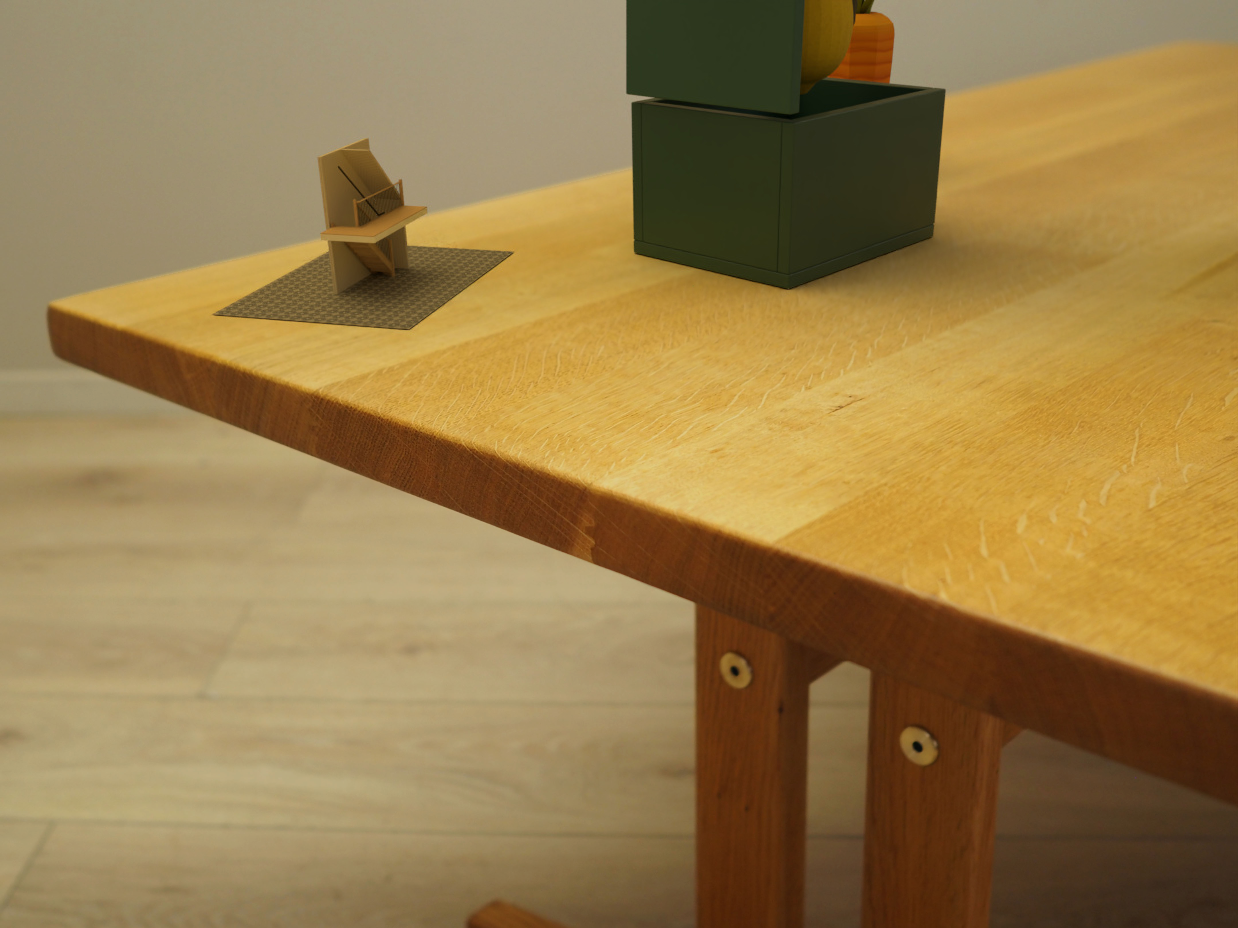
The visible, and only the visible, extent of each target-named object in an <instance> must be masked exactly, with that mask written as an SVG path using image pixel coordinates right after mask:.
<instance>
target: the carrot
mask: <svg viewBox="0 0 1238 928" xmlns="http://www.w3.org/2000/svg"><path fill="white" fill-rule="evenodd" d="M874 3H875V0H858V3H857V10H856V19H855V24H854V25H853V31H852V37H851V41H850V45H849V48H848V50H847V53H846V55H845V57H844V59H843V60H842V62H841V64H840V65H839V66H838V68H837V69H836V70H835V71H834V72H833V73H832V74H830V75H829V76H828V77H830V78H840V79H850V80H861V81H871V82H881V83H890V82H891V75H892V66H893V57H894V48H895V47H894V46H895V35H896V33H895V25H894V22H893V21H892V20H891V19H890V17H888V16H887V15H885V14H884V13H882V12H877V11H872V8H873V6H874Z"/></svg>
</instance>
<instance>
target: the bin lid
mask: <svg viewBox="0 0 1238 928" xmlns="http://www.w3.org/2000/svg"><path fill="white" fill-rule="evenodd" d="M804 7H805V0H625V16H626V17H625V64H626V65H625V88H626V89H625V93H626V95H628V96H629V95H630V96H636V97H637V96H638V97H647V98H661V99H669V100H677V101H685V102H693V103H701V104H709V105H717V106H725V107H733V108H741V109H749V110H757V111H765V112H773V113H782V114H795V113H799V100H800V82H801V63H802V44H803V26H804Z"/></svg>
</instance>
